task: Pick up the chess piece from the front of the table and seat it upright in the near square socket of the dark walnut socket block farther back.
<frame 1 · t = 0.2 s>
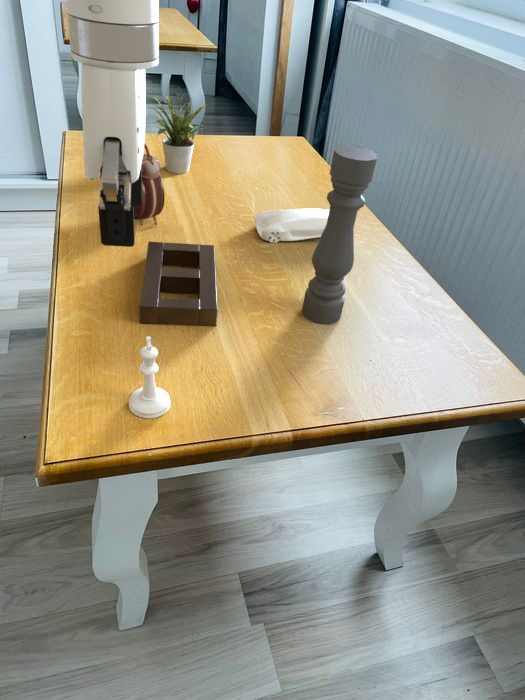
hand: (123, 222, 59), 20 cm above the table, tool pointing down, fingers open, 9 cm apart
candle holder: (321, 313, 86), on the table
socket block: (179, 289, 87), on the table
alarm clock: (140, 220, 105), on the table
house plant: (171, 170, 126), on the table
chess piece: (149, 405, 67), on the table
toy car: (301, 235, 108), on the table
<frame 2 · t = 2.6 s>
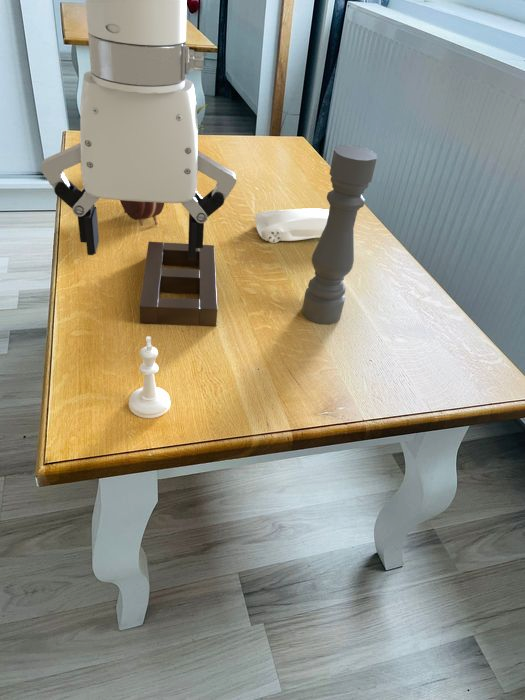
hand: (143, 251, 55), 20 cm above the table, tool pointing down, fingers open, 9 cm apart
nothing on the table moved.
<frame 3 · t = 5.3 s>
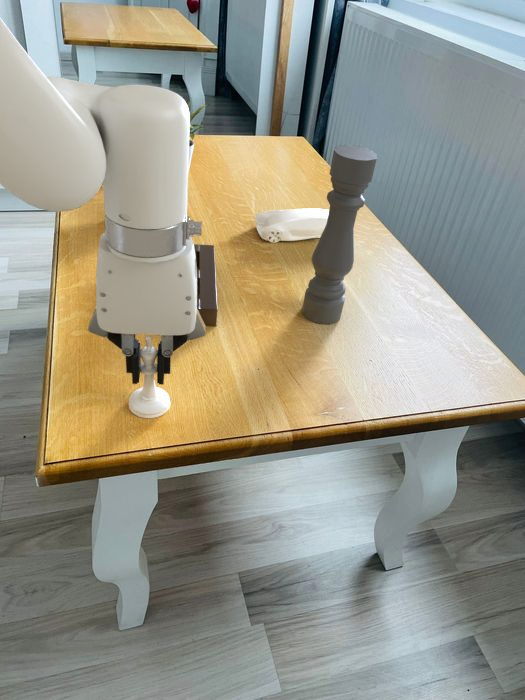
hand: (148, 375, 64), 5 cm above the table, tool pointing down, fingers closed on chess piece
chess piece: (149, 405, 67), on the table, touching gripper
everything else where it was.
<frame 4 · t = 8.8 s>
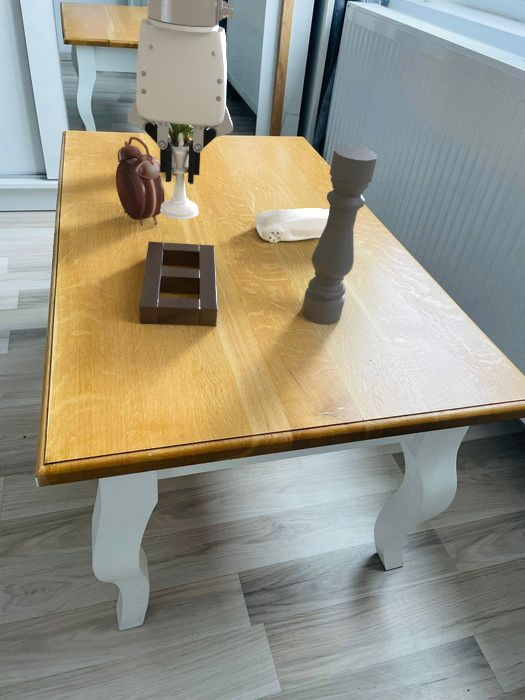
hand: (179, 177, 70), 20 cm above the table, tool pointing down, fingers closed on chess piece
chess piece: (179, 213, 73), point 16 cm above the table, touching gripper
everything else where it was.
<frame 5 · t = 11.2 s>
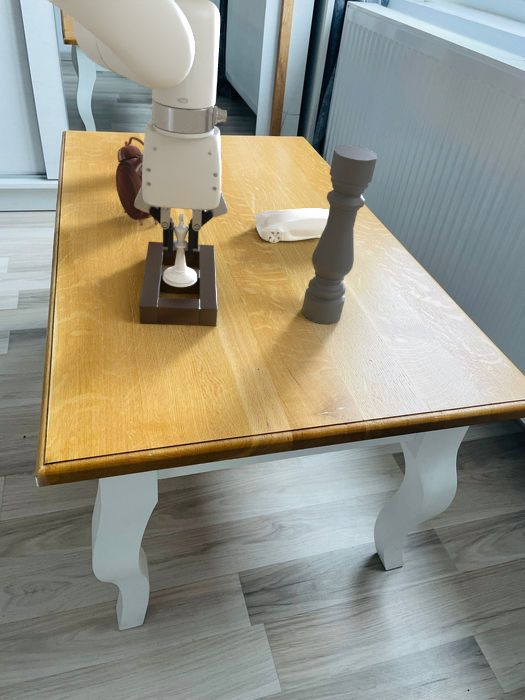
hand: (180, 250, 78), 9 cm above the table, tool pointing down, fingers closed on chess piece
chess piece: (180, 279, 81), point 4 cm above the table, touching gripper
everything else where it was.
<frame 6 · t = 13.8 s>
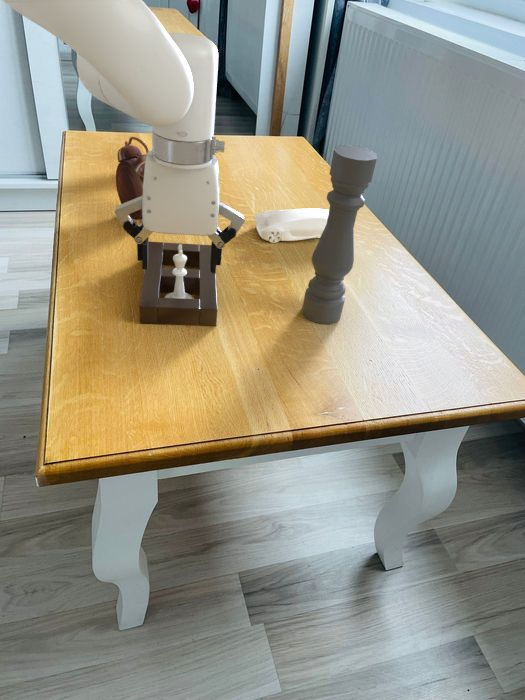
hand: (179, 266, 80), 7 cm above the table, tool pointing down, fingers open, 9 cm apart
chess piece: (178, 305, 84), resting in socket block
everything else where it was.
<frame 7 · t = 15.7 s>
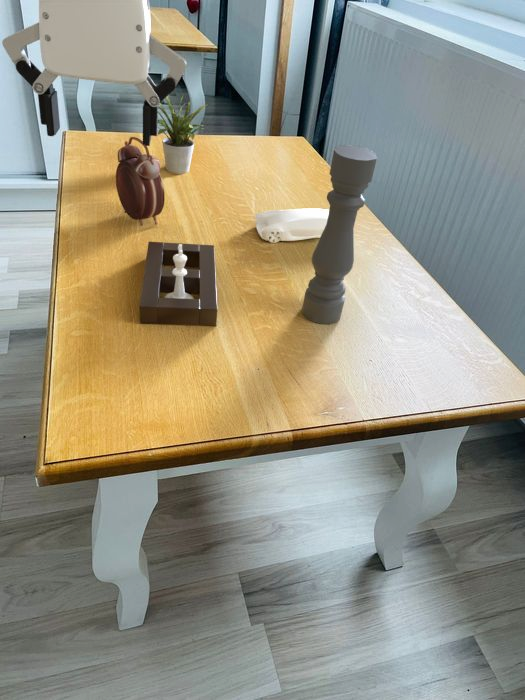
hand: (101, 137, 59), 27 cm above the table, tool pointing down, fingers open, 9 cm apart
nothing on the table moved.
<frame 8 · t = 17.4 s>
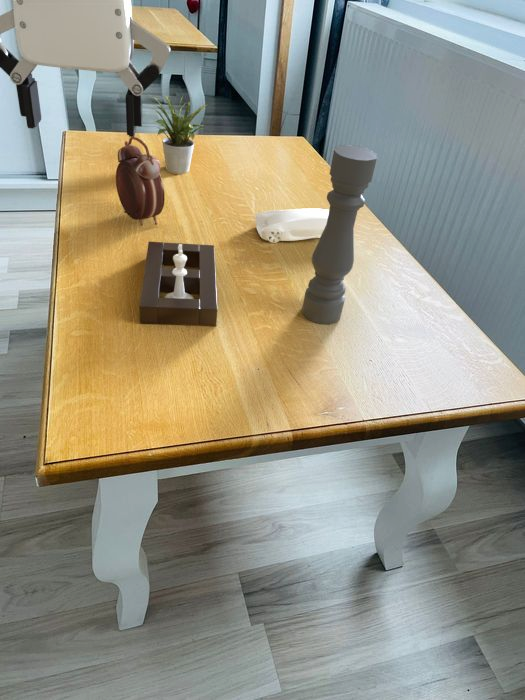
hand: (83, 128, 57), 28 cm above the table, tool pointing down, fingers open, 9 cm apart
nothing on the table moved.
at the end: chess piece 0.1 cm from the target spot in the socket block, point 0.0 cm above the socket block's base; chess piece tilted 0°; the gripper is holding nothing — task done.
